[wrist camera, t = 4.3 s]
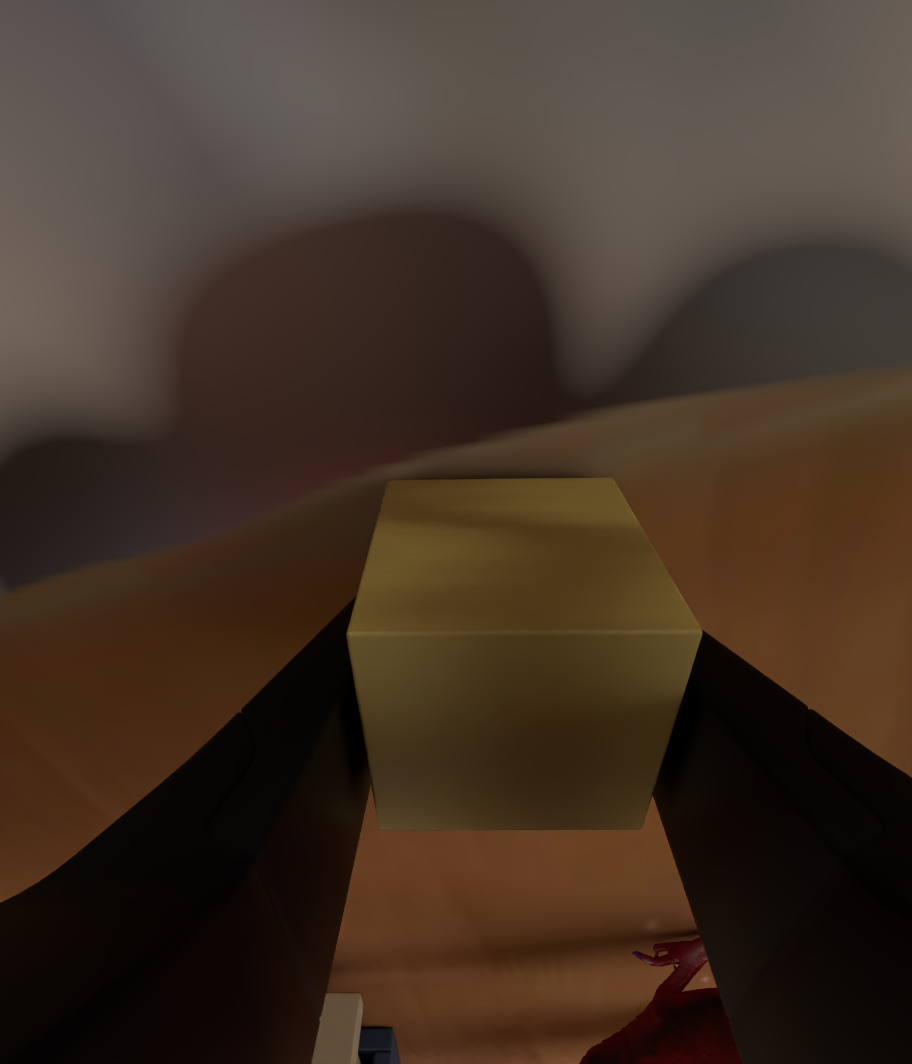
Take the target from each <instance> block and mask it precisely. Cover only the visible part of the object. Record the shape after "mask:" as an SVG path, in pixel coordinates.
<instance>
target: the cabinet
mask: <svg viewBox="0 0 912 1064" xmlns="http://www.w3.org/2000/svg"><path fill="white" fill-rule="evenodd" d="M358 1056H359V1059H360V1061H361V1064H401V1063H400V1059H399V1055H398V1050H397V1046H396V1041H395V1037H394V1032H393V1029H392V1028H361V1030H360V1039H359V1047H358Z"/></svg>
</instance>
